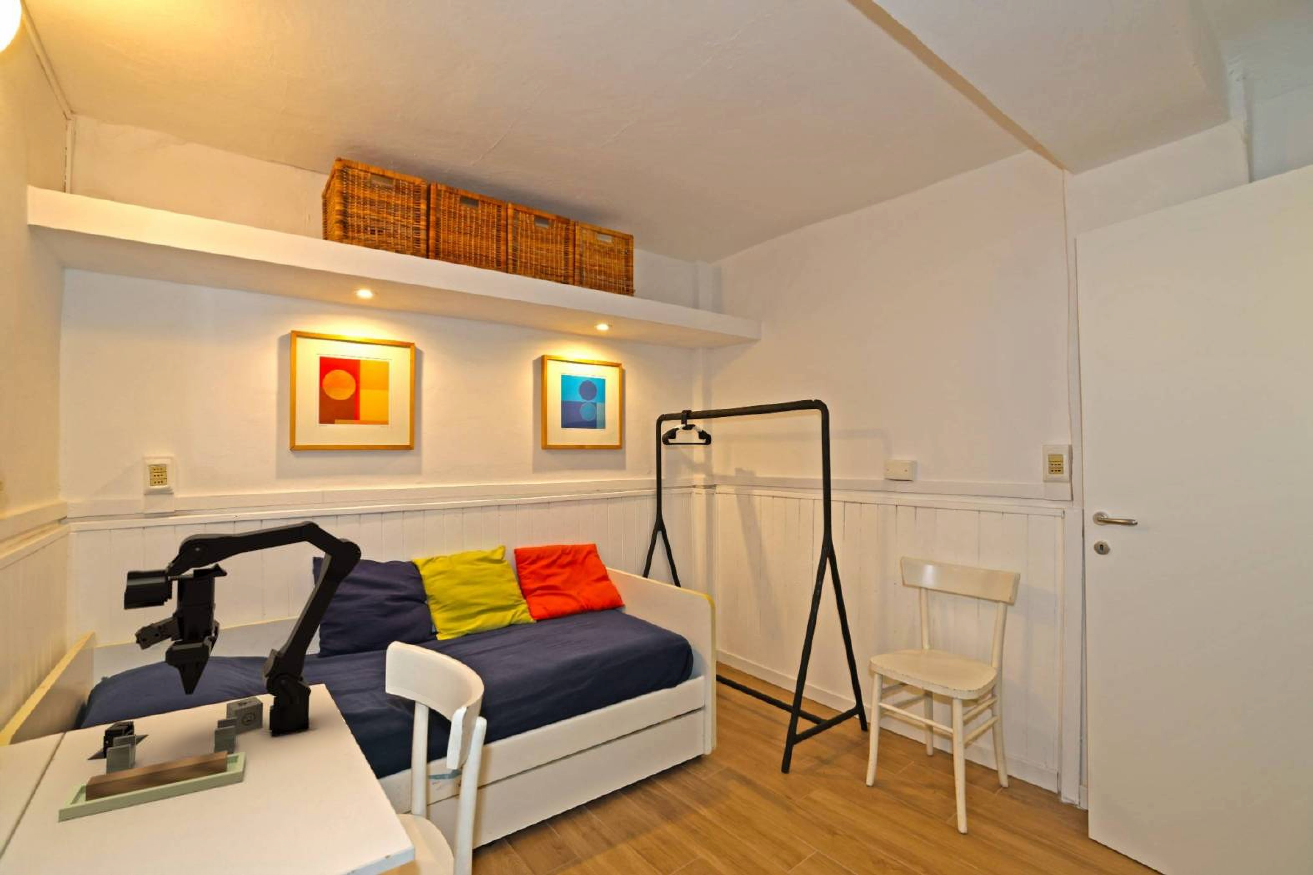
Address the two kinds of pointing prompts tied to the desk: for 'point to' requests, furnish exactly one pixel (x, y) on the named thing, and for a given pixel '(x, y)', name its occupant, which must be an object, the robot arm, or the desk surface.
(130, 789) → the rail
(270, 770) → the desk surface
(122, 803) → the tray
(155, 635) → the robot arm
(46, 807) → the desk surface
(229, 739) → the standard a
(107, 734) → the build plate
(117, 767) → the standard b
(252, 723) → the dice cube
